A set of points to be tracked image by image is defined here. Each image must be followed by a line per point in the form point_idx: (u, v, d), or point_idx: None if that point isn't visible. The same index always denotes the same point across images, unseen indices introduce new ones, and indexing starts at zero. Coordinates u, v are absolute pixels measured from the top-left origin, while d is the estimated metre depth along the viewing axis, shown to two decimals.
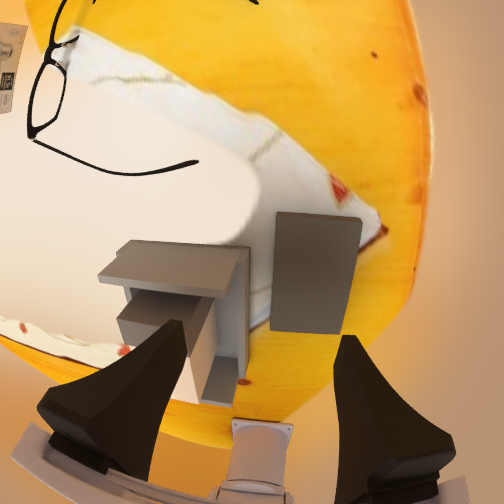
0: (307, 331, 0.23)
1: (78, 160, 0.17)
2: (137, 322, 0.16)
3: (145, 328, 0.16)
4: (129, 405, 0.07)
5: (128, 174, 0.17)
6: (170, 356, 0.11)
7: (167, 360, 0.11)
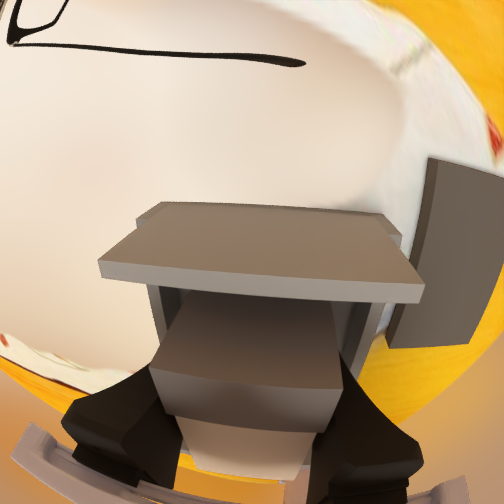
0: (435, 344, 0.13)
1: (82, 46, 0.07)
2: (209, 378, 0.06)
3: (231, 390, 0.06)
4: (160, 414, 0.07)
5: (183, 53, 0.07)
6: None
7: None
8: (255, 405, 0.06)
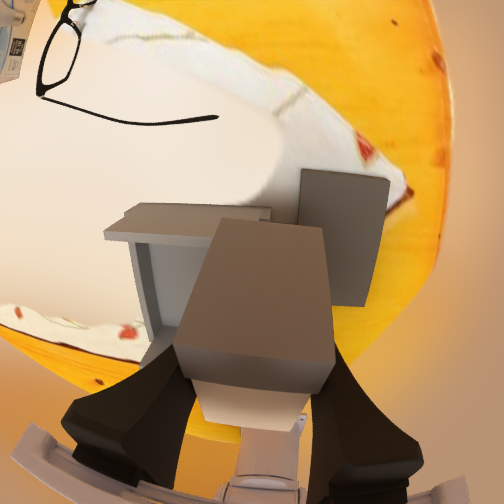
0: None
1: (89, 112, 0.15)
2: (225, 351, 0.08)
3: (243, 360, 0.08)
4: (160, 414, 0.07)
5: (144, 123, 0.15)
6: None
7: None
8: (262, 372, 0.08)
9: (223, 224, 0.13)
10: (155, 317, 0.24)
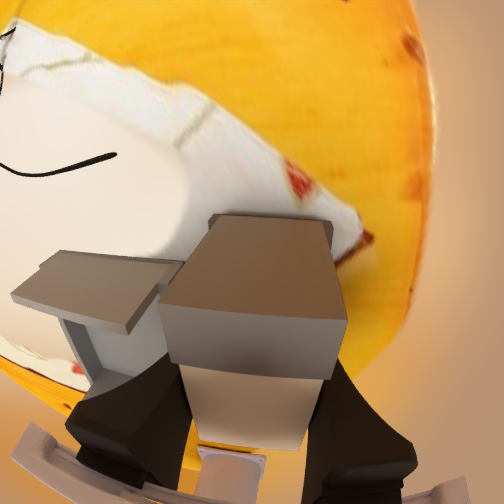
0: None
1: None
2: (217, 310, 0.07)
3: (238, 323, 0.07)
4: (165, 415, 0.07)
5: (35, 175, 0.12)
6: None
7: None
8: (261, 343, 0.07)
9: (221, 219, 0.13)
10: (92, 362, 0.20)
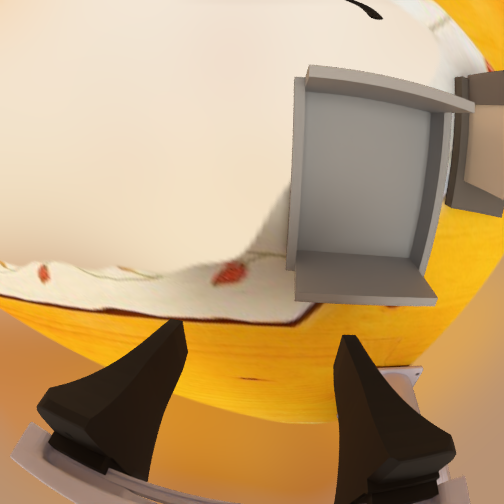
0: (480, 211, 0.16)
1: None
2: None
3: None
4: (129, 405, 0.07)
5: None
6: (170, 356, 0.11)
7: (167, 360, 0.11)
8: None
9: None
10: None
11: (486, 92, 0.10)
